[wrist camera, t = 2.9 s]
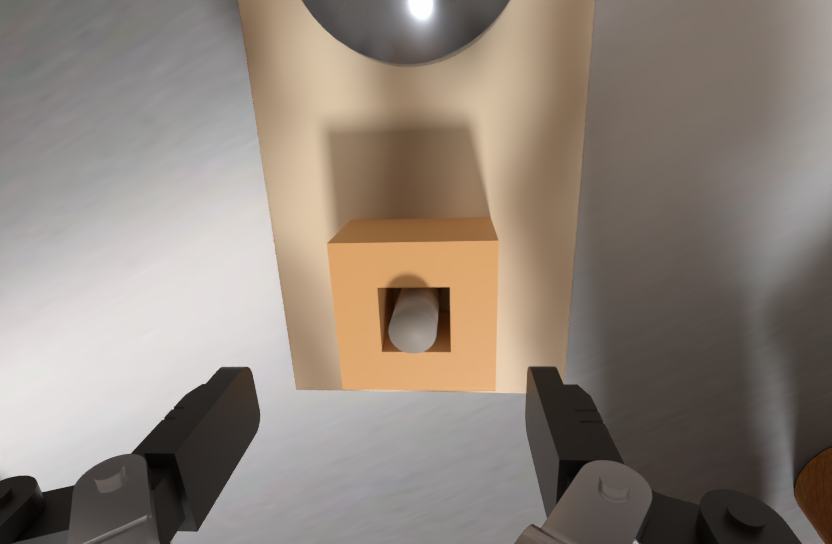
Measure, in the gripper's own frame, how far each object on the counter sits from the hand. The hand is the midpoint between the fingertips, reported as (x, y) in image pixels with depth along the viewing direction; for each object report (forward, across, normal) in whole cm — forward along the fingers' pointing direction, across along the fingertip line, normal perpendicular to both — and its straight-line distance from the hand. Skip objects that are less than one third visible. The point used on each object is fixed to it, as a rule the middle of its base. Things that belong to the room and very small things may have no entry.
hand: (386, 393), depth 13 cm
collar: (+9, 0, 0) cm, 9 cm away
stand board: (+11, -1, -7) cm, 13 cm away
